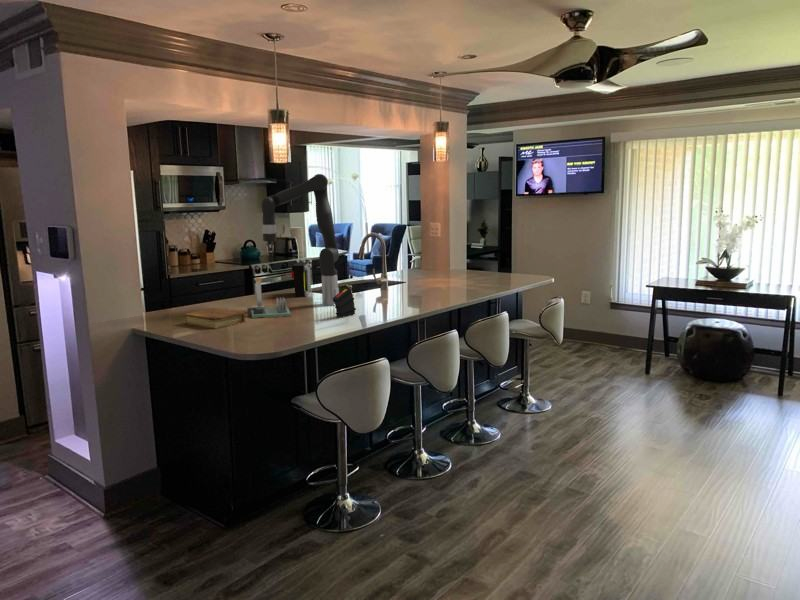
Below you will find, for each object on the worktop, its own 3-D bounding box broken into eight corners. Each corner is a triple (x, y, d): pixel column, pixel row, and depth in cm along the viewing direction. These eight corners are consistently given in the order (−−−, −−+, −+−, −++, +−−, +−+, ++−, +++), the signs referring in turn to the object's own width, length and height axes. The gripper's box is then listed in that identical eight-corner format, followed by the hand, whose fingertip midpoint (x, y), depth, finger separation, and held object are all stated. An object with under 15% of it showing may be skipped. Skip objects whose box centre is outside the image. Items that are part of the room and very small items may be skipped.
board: (251, 310, 338) (251, 308, 337) (287, 308, 343) (287, 306, 342) (252, 318, 317) (251, 315, 316) (290, 316, 322) (290, 313, 321)
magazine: (359, 310, 327) (350, 287, 319) (344, 324, 319) (334, 301, 312) (355, 310, 329) (345, 286, 322) (339, 323, 321) (329, 300, 314)
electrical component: (308, 297, 382) (306, 265, 378) (291, 297, 382) (290, 265, 378) (312, 292, 399) (311, 262, 395) (297, 292, 399) (296, 262, 396)
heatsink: (247, 311, 335) (247, 299, 334) (285, 309, 340) (284, 297, 339) (248, 317, 319) (247, 304, 318) (287, 315, 324) (286, 302, 323)
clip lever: (252, 308, 335) (250, 277, 332) (263, 307, 337) (261, 277, 334) (252, 310, 330) (250, 279, 327) (263, 309, 332) (262, 278, 329)
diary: (245, 323, 307) (244, 312, 306) (215, 330, 292) (215, 318, 291) (214, 318, 320) (214, 307, 319) (185, 324, 304) (184, 313, 303)
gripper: (262, 231, 351) (263, 260, 354) (263, 233, 337) (264, 263, 340) (275, 231, 353) (276, 259, 356) (276, 233, 339) (277, 262, 342)
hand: (270, 261), depth 348 cm, fingers open, 7 cm apart
